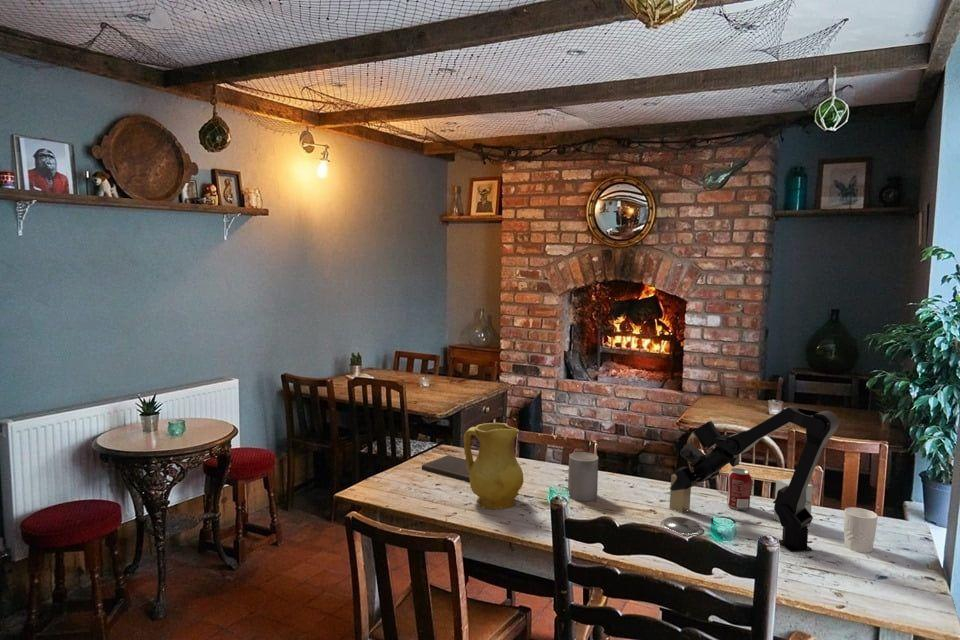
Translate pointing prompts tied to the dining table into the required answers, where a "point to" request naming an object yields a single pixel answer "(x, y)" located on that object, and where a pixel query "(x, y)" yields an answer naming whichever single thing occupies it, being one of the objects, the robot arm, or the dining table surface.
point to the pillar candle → (583, 476)
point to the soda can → (739, 489)
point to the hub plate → (682, 525)
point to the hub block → (679, 498)
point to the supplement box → (786, 482)
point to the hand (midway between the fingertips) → (679, 486)
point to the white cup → (859, 529)
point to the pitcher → (494, 465)
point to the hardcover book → (449, 467)
